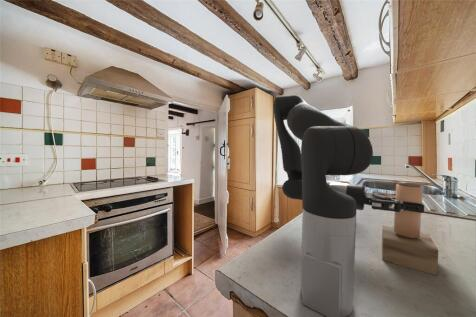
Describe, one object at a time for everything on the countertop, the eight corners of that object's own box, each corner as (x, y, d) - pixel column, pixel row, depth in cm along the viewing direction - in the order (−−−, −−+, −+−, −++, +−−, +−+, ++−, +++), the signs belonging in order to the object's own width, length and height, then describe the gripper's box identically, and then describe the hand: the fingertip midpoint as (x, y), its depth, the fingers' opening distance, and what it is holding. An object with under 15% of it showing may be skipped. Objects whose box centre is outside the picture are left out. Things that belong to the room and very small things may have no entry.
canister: (421, 240, 46) (425, 185, 45) (394, 234, 49) (397, 182, 48) (418, 232, 50) (421, 182, 49) (393, 227, 53) (395, 180, 52)
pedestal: (437, 275, 43) (438, 250, 42) (382, 259, 49) (383, 237, 48) (428, 256, 50) (429, 234, 50) (381, 244, 57) (382, 225, 56)
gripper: (343, 186, 52) (428, 196, 42) (349, 180, 63) (417, 187, 53) (342, 213, 52) (426, 229, 42) (348, 202, 64) (416, 212, 53)
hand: (421, 205), depth 47 cm, fingers closed on canister, 5 cm apart
